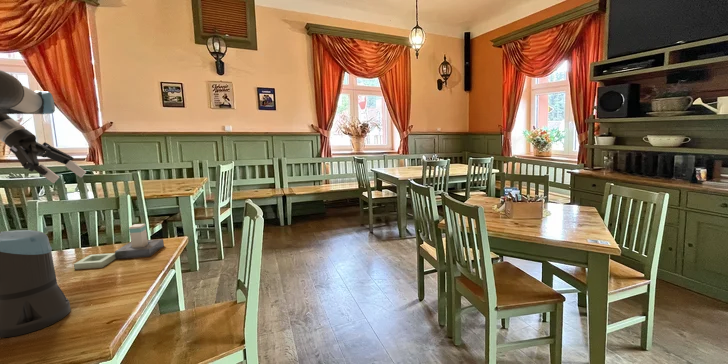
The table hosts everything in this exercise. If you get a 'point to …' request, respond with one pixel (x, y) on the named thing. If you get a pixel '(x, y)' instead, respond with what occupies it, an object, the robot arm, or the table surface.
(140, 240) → the plug peg
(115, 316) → the table surface
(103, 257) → the pale green square slab
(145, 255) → the socket block
